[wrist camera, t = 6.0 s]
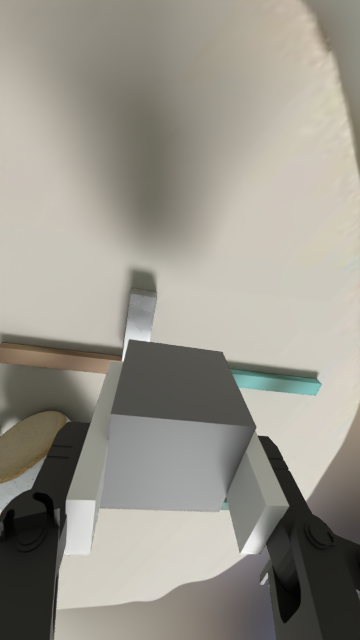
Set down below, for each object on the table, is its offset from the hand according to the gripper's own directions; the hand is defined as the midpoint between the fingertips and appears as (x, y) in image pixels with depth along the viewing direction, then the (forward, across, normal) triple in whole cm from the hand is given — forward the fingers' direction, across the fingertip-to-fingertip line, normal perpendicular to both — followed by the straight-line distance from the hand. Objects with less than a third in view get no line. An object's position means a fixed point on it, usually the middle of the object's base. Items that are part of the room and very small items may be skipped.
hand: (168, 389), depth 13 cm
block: (0, 0, 0) cm, 0 cm away
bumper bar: (+8, -2, 0) cm, 9 cm away
